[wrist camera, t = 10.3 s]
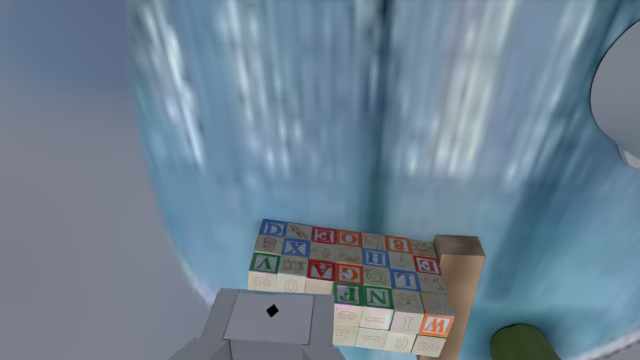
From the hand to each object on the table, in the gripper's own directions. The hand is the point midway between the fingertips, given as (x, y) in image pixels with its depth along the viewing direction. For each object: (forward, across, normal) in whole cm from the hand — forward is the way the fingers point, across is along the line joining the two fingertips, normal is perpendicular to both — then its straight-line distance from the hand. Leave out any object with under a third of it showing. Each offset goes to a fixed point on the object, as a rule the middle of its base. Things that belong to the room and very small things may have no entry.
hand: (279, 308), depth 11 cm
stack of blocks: (+35, -2, +26) cm, 44 cm away
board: (+35, -15, +34) cm, 51 cm away
